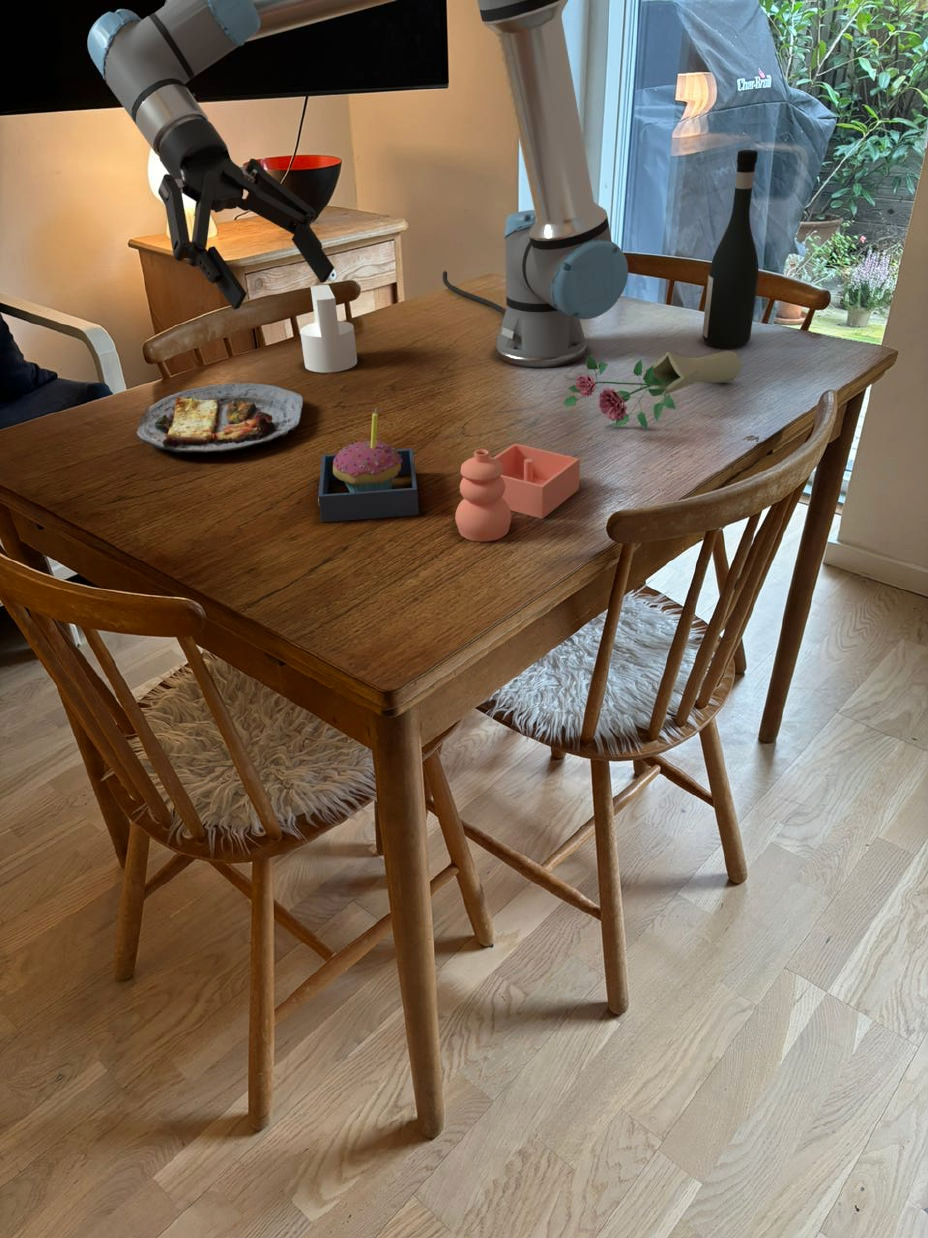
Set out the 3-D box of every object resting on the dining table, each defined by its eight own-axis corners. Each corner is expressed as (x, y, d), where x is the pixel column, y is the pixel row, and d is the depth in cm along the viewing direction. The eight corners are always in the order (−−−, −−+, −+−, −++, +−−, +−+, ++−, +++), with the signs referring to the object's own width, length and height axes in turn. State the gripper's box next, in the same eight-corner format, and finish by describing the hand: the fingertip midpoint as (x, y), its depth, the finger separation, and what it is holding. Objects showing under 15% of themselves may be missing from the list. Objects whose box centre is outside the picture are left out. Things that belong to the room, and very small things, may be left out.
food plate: (296, 458, 131) (293, 434, 129) (126, 469, 130) (120, 445, 128) (308, 393, 151) (305, 371, 149) (161, 402, 151) (156, 380, 149)
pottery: (514, 473, 124) (513, 401, 119) (578, 489, 120) (581, 415, 114) (434, 531, 112) (429, 454, 106) (502, 551, 107) (500, 472, 102)
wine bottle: (693, 344, 163) (712, 152, 147) (715, 332, 168) (736, 145, 152) (736, 353, 159) (760, 156, 142) (757, 340, 164) (783, 148, 147)
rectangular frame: (324, 479, 125) (321, 454, 123) (414, 472, 125) (412, 448, 123) (321, 522, 115) (317, 496, 113) (419, 515, 115) (417, 489, 114)
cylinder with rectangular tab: (361, 368, 160) (353, 296, 153) (307, 375, 158) (298, 302, 152) (353, 352, 167) (345, 282, 161) (302, 358, 166) (292, 287, 159)
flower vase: (730, 435, 150) (609, 464, 125) (670, 395, 155) (543, 415, 130) (768, 367, 143) (649, 383, 118) (705, 328, 148) (577, 335, 123)
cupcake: (414, 485, 122) (407, 396, 115) (388, 515, 116) (379, 423, 109) (353, 478, 125) (343, 390, 118) (325, 507, 118) (312, 416, 111)
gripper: (255, 148, 123) (348, 283, 123) (83, 178, 107) (189, 333, 108) (276, 103, 117) (373, 246, 117) (97, 128, 102) (210, 292, 102)
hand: (286, 288), depth 112 cm, fingers open, 13 cm apart
